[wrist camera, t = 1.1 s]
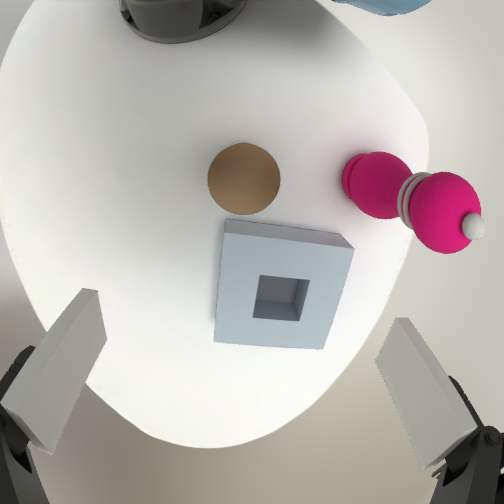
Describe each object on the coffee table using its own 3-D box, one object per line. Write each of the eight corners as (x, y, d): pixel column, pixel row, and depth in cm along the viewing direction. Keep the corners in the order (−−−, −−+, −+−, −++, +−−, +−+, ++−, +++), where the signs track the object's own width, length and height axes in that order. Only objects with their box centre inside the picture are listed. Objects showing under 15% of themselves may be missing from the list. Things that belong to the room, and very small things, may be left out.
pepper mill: (399, 170, 31) (522, 212, 13) (372, 218, 34) (476, 297, 15) (356, 138, 30) (477, 149, 11) (327, 189, 32) (423, 255, 14)
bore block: (226, 219, 33) (224, 232, 29) (340, 234, 34) (354, 248, 30) (216, 318, 38) (213, 341, 34) (315, 326, 40) (322, 349, 35)
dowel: (227, 140, 30) (212, 139, 14) (263, 145, 30) (285, 149, 15) (223, 175, 31) (204, 210, 16) (258, 180, 32) (274, 219, 16)
